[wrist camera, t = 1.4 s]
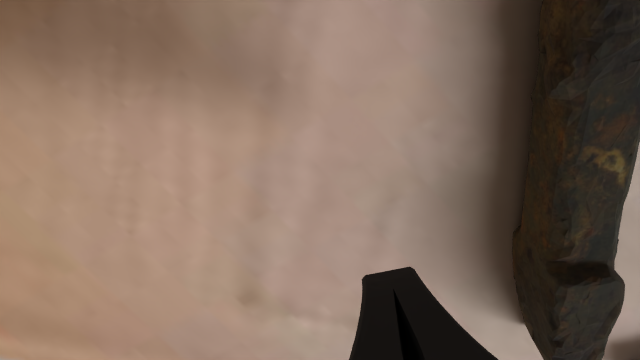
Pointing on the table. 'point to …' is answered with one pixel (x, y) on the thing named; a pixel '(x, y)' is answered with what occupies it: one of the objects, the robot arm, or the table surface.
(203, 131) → the table surface
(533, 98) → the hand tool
